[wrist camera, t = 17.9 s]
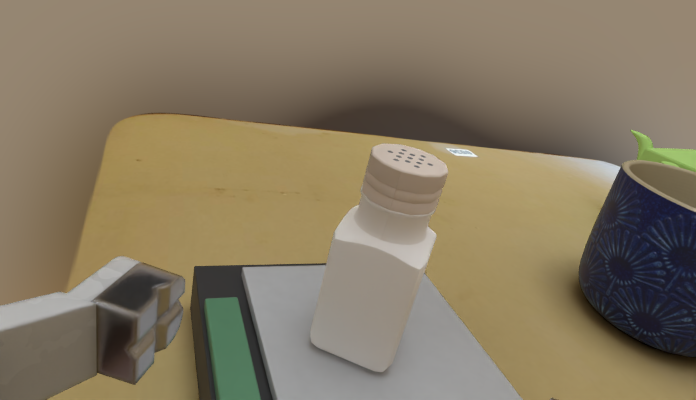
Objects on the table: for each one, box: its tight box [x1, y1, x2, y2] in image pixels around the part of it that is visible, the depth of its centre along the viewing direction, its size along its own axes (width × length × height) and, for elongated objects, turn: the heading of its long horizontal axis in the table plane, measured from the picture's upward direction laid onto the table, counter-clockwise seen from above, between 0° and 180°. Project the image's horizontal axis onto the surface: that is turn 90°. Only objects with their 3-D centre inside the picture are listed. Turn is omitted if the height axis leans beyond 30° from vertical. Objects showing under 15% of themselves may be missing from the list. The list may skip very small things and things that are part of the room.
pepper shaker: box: [310, 144, 448, 372], centre depth 21 cm, size 4×4×10 cm
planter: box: [579, 160, 696, 357], centre depth 36 cm, size 12×12×11 cm
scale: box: [190, 263, 523, 400], centre depth 24 cm, size 14×14×4 cm
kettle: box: [631, 130, 696, 172], centre depth 51 cm, size 15×14×11 cm
